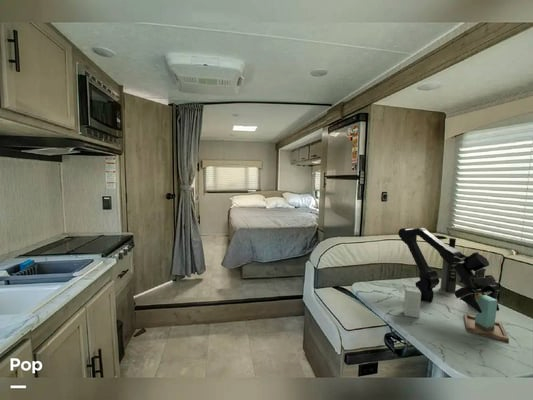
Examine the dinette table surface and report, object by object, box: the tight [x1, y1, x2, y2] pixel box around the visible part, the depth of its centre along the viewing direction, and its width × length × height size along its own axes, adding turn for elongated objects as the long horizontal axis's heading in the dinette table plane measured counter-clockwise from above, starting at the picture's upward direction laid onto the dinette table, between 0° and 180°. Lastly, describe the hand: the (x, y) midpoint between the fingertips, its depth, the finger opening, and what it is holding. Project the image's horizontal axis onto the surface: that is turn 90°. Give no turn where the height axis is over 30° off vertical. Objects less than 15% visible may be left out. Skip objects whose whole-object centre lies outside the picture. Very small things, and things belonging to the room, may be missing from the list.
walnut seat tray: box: [463, 313, 510, 343], centre depth 110 cm, size 13×13×2 cm
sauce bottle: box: [474, 267, 487, 301], centre depth 130 cm, size 7×6×20 cm
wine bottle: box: [440, 237, 459, 293], centre depth 145 cm, size 6×6×30 cm
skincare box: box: [403, 286, 422, 319], centre depth 119 cm, size 6×4×12 cm
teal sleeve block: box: [475, 295, 498, 331], centre depth 109 cm, size 4×4×13 cm
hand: (489, 311), depth 108 cm, fingers open, 9 cm apart
